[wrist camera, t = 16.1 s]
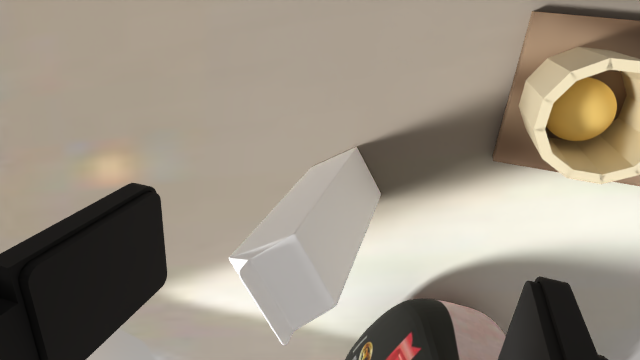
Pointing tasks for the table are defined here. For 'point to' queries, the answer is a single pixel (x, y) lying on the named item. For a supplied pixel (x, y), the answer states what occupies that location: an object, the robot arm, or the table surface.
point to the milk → (308, 243)
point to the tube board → (549, 40)
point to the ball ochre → (583, 111)
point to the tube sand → (596, 153)
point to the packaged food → (430, 334)
